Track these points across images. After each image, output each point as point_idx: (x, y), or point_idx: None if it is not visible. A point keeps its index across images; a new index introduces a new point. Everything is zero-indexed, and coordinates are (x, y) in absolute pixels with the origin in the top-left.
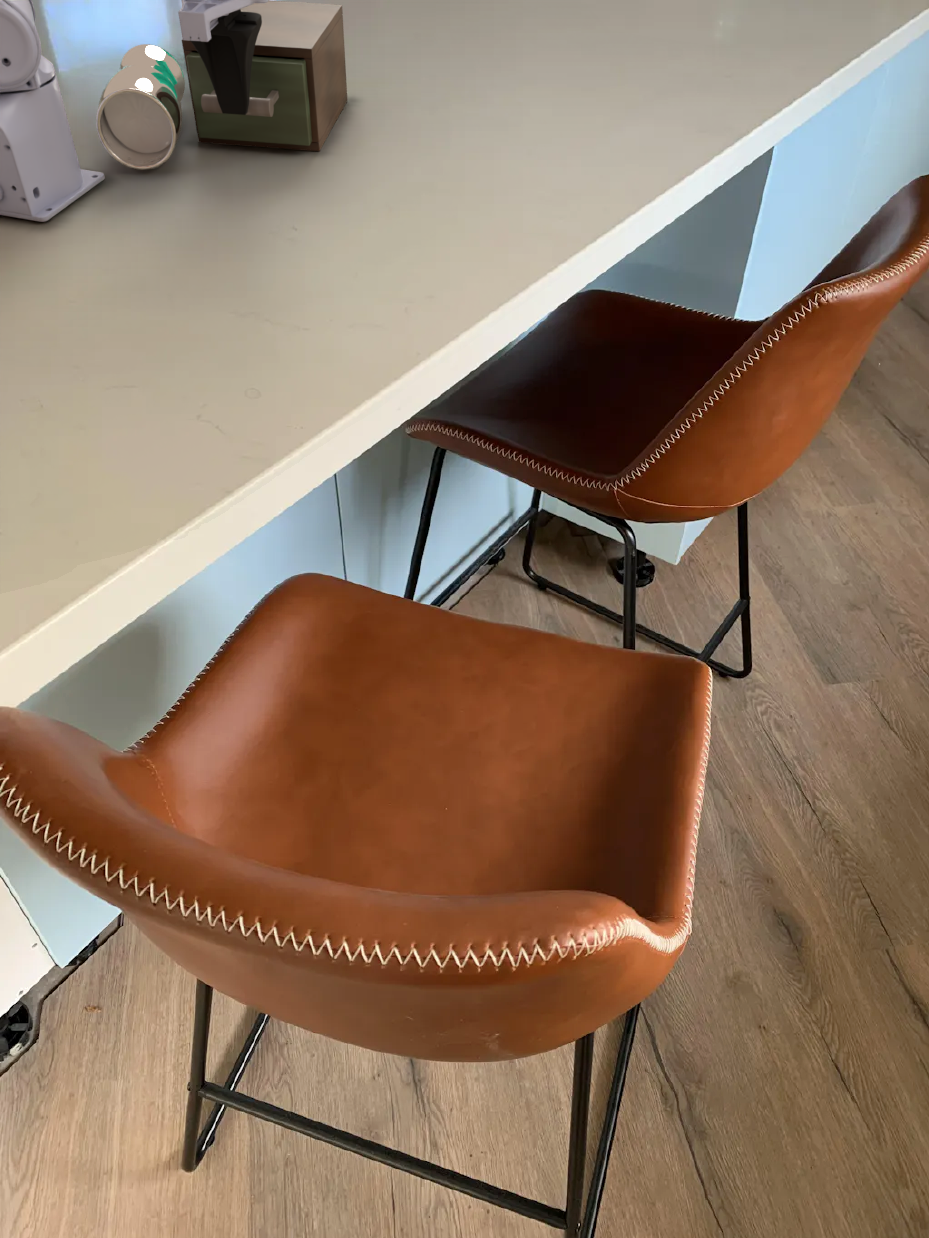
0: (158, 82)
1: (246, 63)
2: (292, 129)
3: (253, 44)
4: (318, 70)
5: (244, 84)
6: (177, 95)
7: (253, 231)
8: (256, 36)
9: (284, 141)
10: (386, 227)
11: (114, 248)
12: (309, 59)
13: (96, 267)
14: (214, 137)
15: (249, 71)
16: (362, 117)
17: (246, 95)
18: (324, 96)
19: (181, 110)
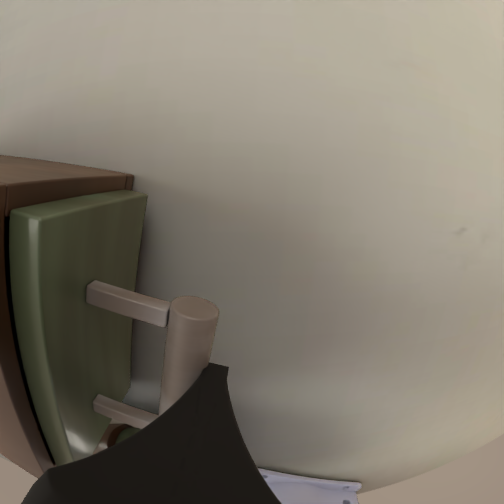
0: None
1: (237, 458)
2: (129, 234)
3: (147, 469)
4: (3, 172)
5: (234, 416)
6: (110, 446)
7: (454, 292)
8: (104, 471)
9: (138, 249)
10: (462, 89)
11: (434, 425)
12: (7, 194)
13: (459, 425)
14: (129, 369)
15: (187, 419)
16: (12, 117)
17: (225, 391)
18: (26, 165)
19: (131, 434)
